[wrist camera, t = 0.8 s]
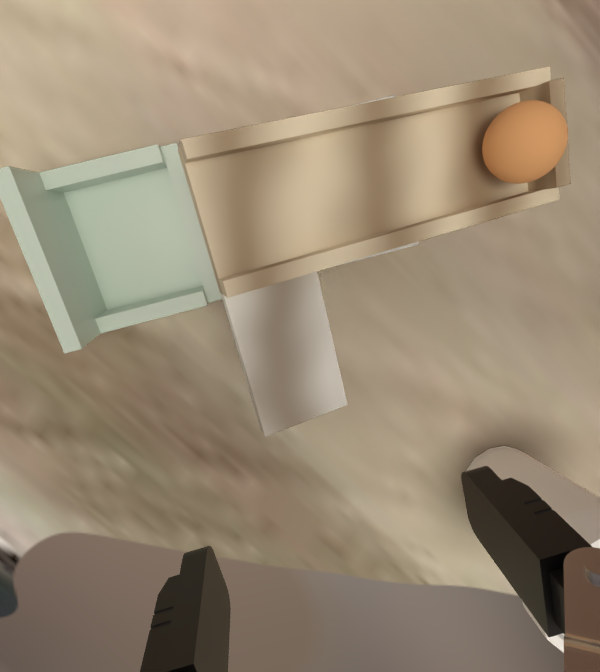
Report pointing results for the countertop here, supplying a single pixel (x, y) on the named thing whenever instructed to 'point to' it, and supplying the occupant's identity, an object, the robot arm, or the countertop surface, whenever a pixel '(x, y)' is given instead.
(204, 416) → the countertop surface
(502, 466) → the foam cup
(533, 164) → the ball
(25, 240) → the bin
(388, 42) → the countertop surface
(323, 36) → the countertop surface
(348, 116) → the board
